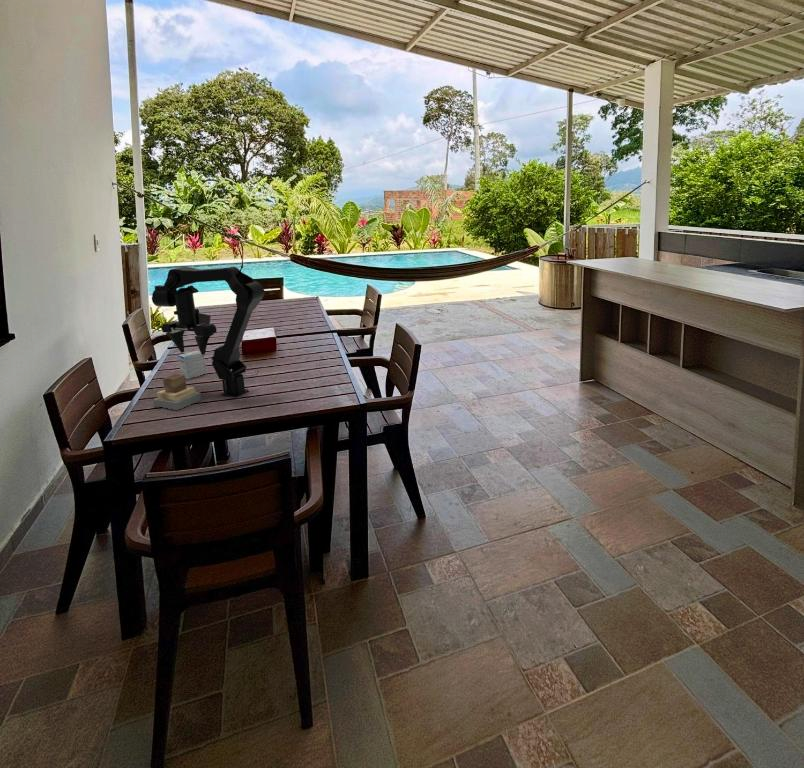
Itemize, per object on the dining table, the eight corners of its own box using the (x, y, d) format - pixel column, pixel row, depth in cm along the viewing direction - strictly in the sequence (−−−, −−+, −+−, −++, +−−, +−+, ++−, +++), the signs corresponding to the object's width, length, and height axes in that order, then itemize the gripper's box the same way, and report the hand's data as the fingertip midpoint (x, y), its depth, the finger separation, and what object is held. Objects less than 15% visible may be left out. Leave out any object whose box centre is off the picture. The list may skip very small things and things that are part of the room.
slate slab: (201, 400, 178) (200, 392, 178) (177, 410, 170) (176, 403, 169) (178, 396, 182) (177, 389, 182) (154, 406, 174) (152, 399, 173)
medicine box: (200, 372, 208) (197, 350, 205) (207, 374, 205) (203, 351, 202) (181, 377, 202) (177, 355, 199) (187, 380, 199) (184, 356, 197)
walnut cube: (186, 388, 176) (184, 375, 174) (175, 393, 172) (173, 379, 170) (176, 387, 177) (173, 373, 176) (165, 391, 174) (162, 377, 172)
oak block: (195, 393, 177) (194, 387, 176) (176, 401, 170) (175, 395, 170) (177, 390, 180) (176, 384, 180) (157, 398, 174) (156, 392, 173)
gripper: (225, 303, 181) (231, 349, 186) (183, 301, 189) (190, 345, 194) (200, 310, 172) (207, 358, 177) (157, 307, 180) (165, 353, 185)
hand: (192, 353), depth 183 cm, fingers open, 9 cm apart
